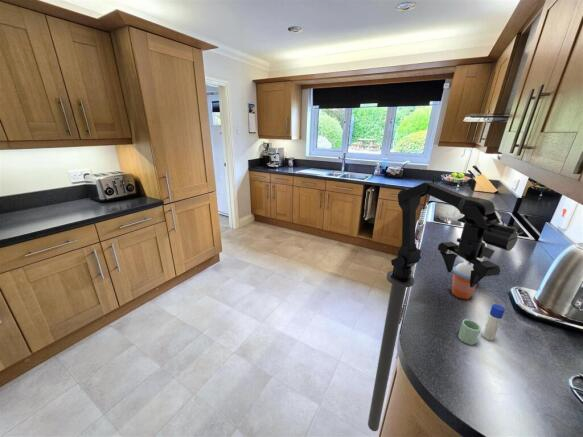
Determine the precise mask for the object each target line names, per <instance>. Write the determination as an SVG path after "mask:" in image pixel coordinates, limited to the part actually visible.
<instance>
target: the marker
mask: <svg viewBox="0 0 583 437" xmlns="http://www.w3.org/2000/svg"><path fill="white" fill-rule="evenodd" d="M505 310H506V309H505V307H504V306H503V305H500V304H497V303H493V304H492V305H491V308H490V311H489V314H488V319H487V320H486V323H485V326H484V328H483V332H482V337H483V338H484V339H486V340H488V341H494V340H495V337H496V334H497V332H498V329H499V327H500V323H501V321H502V318H503V316H504V313H505V312H506V311H505Z"/></svg>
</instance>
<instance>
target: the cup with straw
mask: <svg viewBox="0 0 583 437" xmlns="http://www.w3.org/2000/svg"><path fill="white" fill-rule="evenodd" d="M471 270H473V264H471V263H470V262H468V263H463V262H460V263H458V264H457V265H454V266H453V269H452V272H453V275H452V284H451V286H452V287H451V293H452V295H454V296H455V297H456V298H459V299H461V300H469V299H470V298H471V296H472V294H473V293H474V292H475V290H476V287H477V286H476V285H478V283H477V284H476V285H475V286H474V287H470V277H471Z"/></svg>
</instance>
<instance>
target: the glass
mask: <svg viewBox="0 0 583 437" xmlns="http://www.w3.org/2000/svg"><path fill="white" fill-rule="evenodd" d="M459 327H460V328H459V331H458V333H457V334H458V335H457V337H458V338H459V340H460V341H461V342H463V343H465V344H466V345H470V346H471V345H472V346H474V345H476V344H477V342H478V338H479V335H480V332H481V330H482V327H481V326H480V325H479V323H478V322H476V321H474V320H472V319H467V318H465V319H463V320H462V321H461V325H460V326H459Z"/></svg>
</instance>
